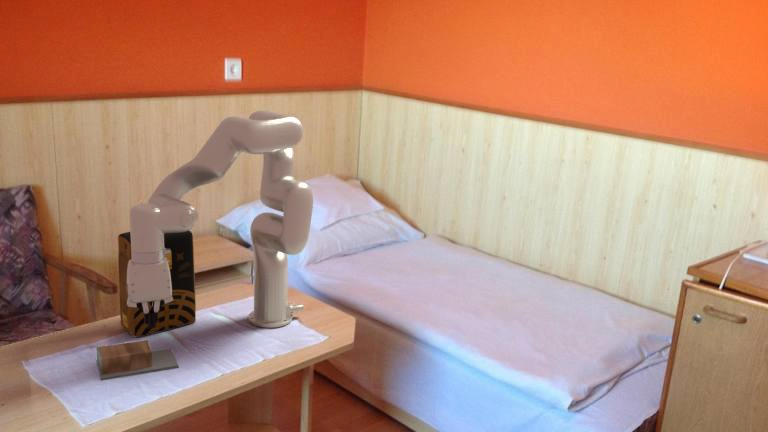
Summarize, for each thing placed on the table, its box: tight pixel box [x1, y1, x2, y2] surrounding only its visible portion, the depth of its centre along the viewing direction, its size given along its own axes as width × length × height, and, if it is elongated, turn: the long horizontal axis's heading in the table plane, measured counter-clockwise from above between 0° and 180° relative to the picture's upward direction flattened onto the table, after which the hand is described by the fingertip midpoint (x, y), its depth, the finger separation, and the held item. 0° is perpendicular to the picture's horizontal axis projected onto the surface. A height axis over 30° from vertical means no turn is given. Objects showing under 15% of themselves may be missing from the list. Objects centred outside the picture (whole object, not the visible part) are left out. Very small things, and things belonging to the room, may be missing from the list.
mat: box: [96, 347, 180, 381], centre depth 180 cm, size 18×10×1 cm, turn 116°
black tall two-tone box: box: [117, 230, 197, 338], centre depth 199 cm, size 11×19×28 cm, turn 130°
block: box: [95, 339, 153, 376], centre depth 178 cm, size 4×7×12 cm
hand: (151, 325), depth 179 cm, fingers closed
